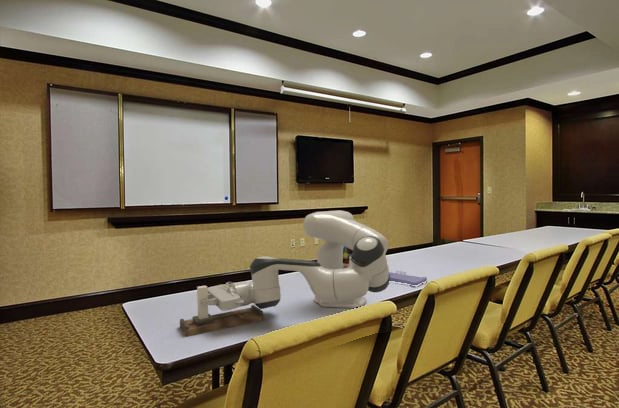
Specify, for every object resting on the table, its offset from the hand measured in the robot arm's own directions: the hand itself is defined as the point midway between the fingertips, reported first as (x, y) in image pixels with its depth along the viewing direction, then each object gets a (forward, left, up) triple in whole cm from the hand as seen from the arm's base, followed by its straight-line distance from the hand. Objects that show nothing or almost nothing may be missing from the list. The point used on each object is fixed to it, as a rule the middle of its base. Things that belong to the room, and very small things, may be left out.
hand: (200, 301), depth 126 cm
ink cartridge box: (-33, -87, -10) cm, 93 cm away
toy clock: (-22, -101, -10) cm, 104 cm away
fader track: (-5, -6, -10) cm, 12 cm away
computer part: (-52, -91, -10) cm, 105 cm away
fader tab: (-1, -1, -7) cm, 7 cm away
